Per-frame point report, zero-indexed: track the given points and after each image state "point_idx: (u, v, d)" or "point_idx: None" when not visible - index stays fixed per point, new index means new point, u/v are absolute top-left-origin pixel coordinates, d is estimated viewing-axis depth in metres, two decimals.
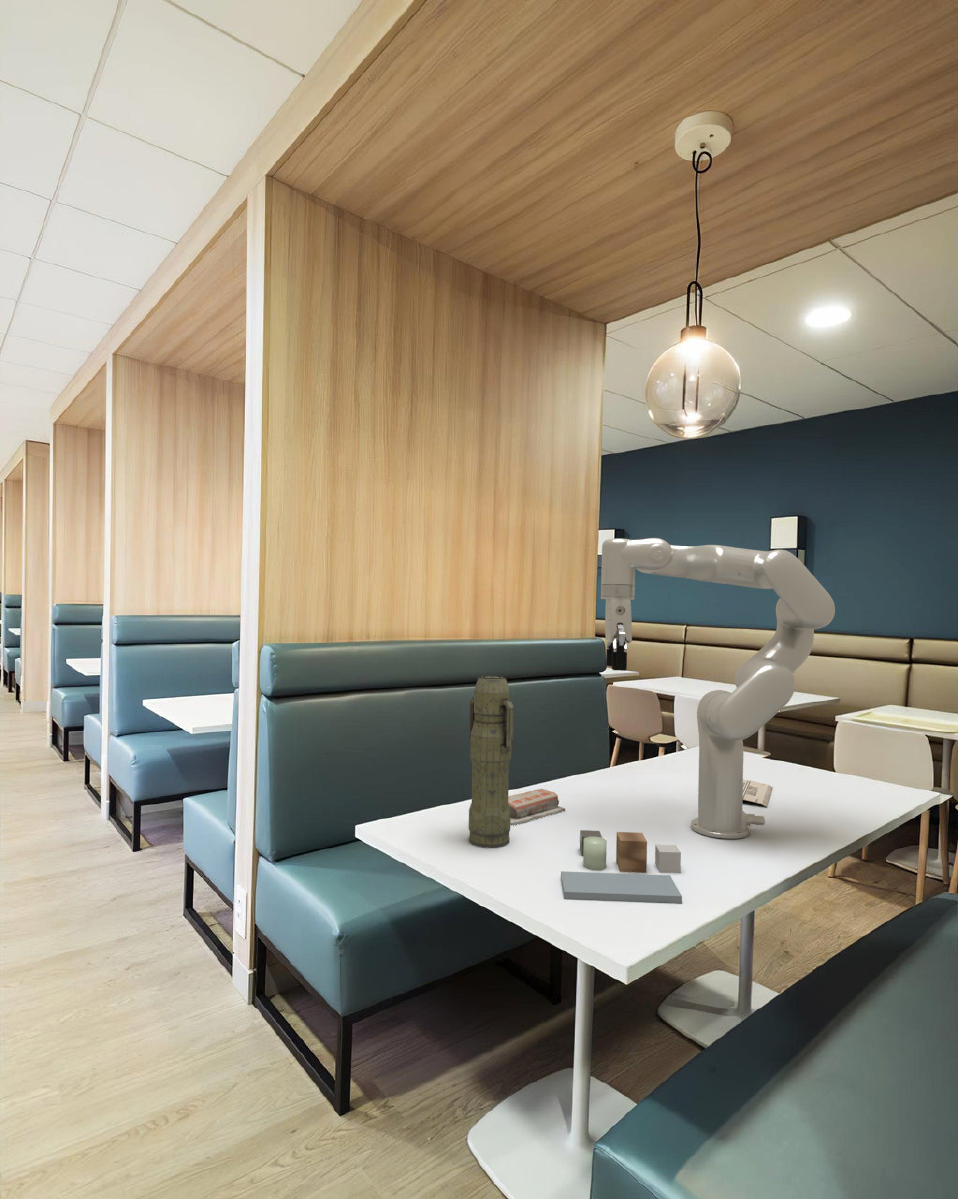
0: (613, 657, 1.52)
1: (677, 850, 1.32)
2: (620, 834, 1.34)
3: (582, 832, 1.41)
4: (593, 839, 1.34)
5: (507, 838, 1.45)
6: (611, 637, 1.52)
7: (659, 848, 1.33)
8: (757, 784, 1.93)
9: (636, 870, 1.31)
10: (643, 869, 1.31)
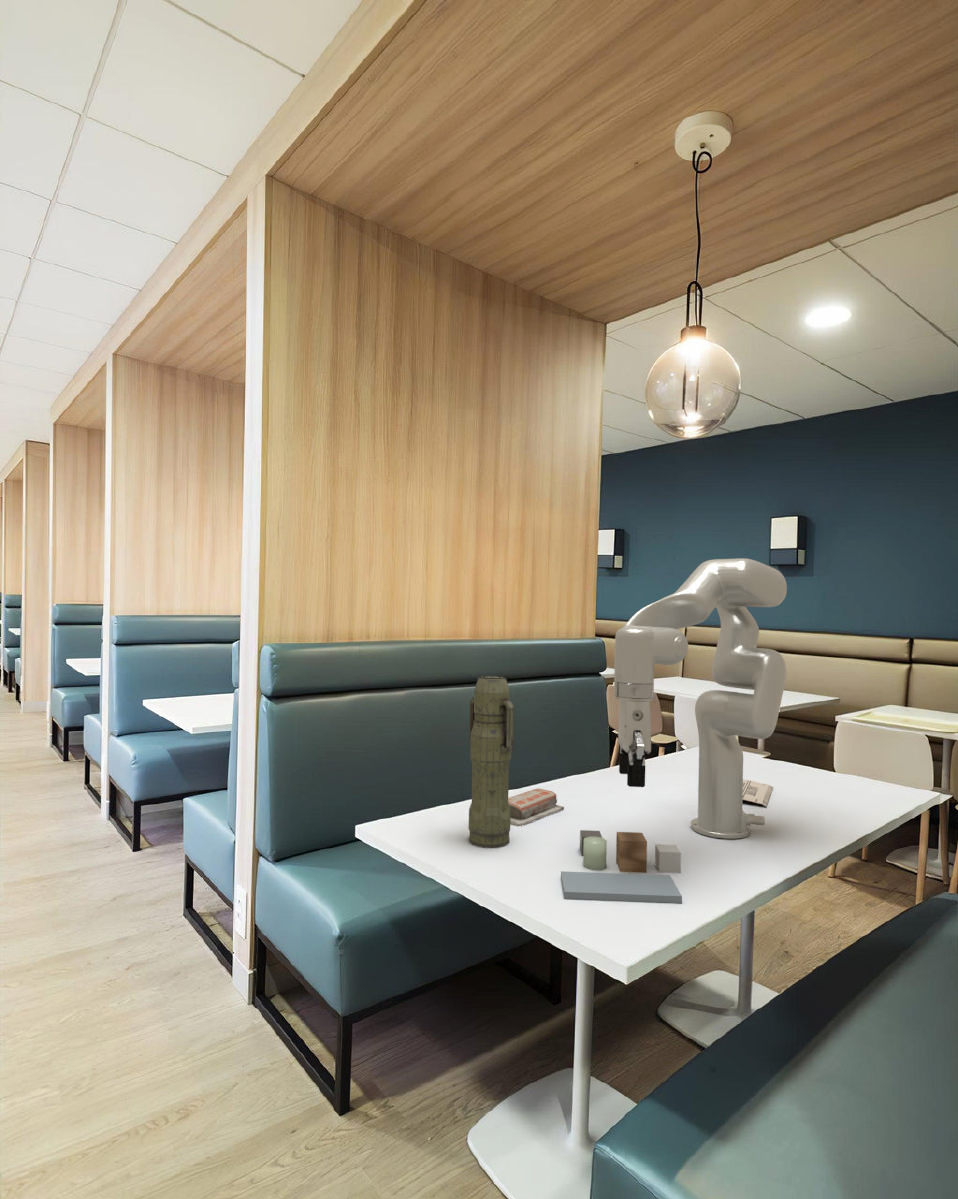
0: (629, 771, 1.28)
1: (677, 850, 1.32)
2: (620, 834, 1.34)
3: (582, 832, 1.41)
4: (593, 839, 1.34)
5: (507, 838, 1.45)
6: (627, 747, 1.29)
7: (659, 848, 1.33)
8: (757, 784, 1.93)
9: (636, 870, 1.31)
10: (643, 869, 1.31)
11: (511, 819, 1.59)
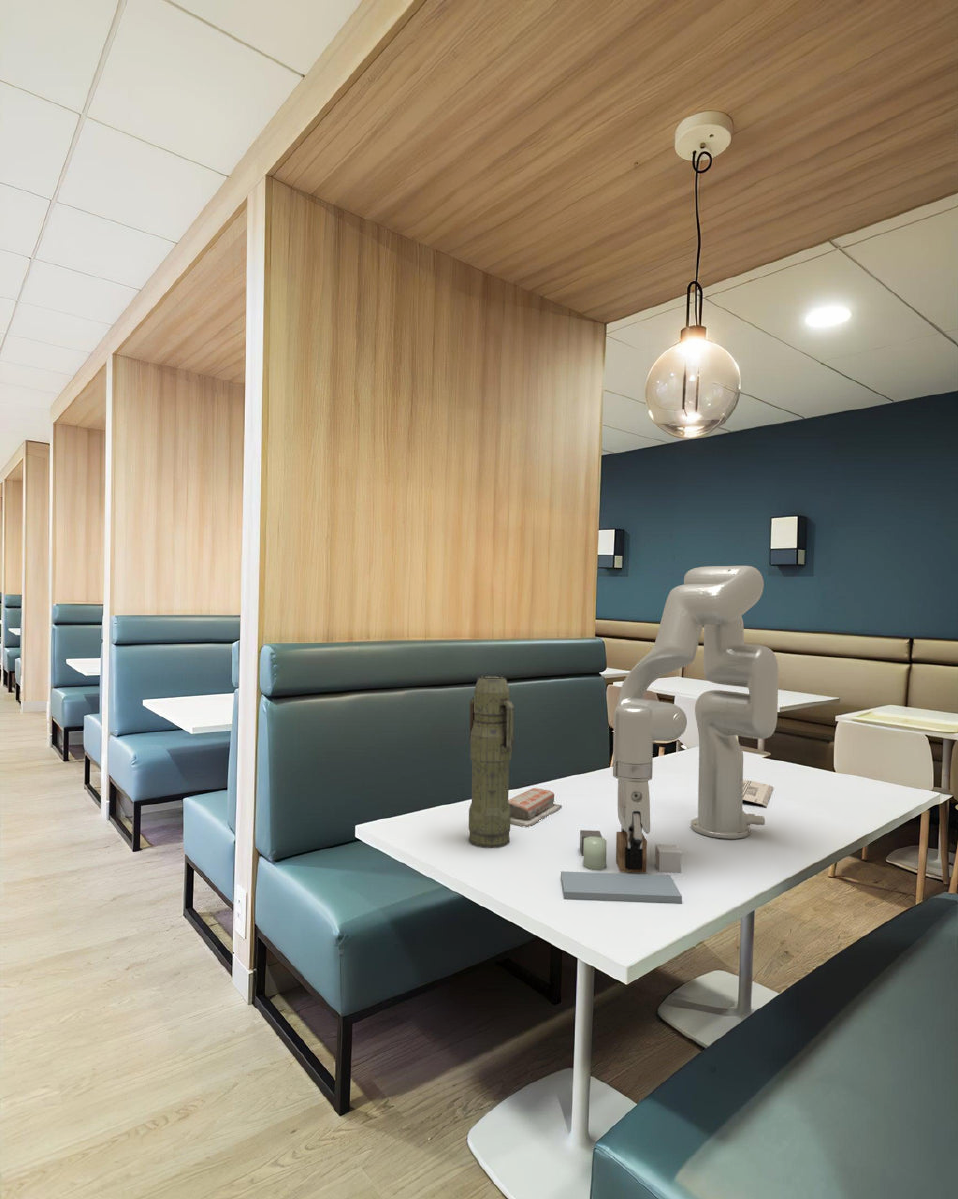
0: (627, 854, 1.30)
1: (677, 850, 1.32)
2: (620, 834, 1.34)
3: (582, 832, 1.41)
4: (593, 839, 1.34)
5: (507, 838, 1.45)
6: (626, 828, 1.29)
7: (659, 848, 1.33)
8: (758, 784, 1.93)
9: (636, 870, 1.31)
10: (643, 869, 1.31)
11: (517, 820, 1.58)
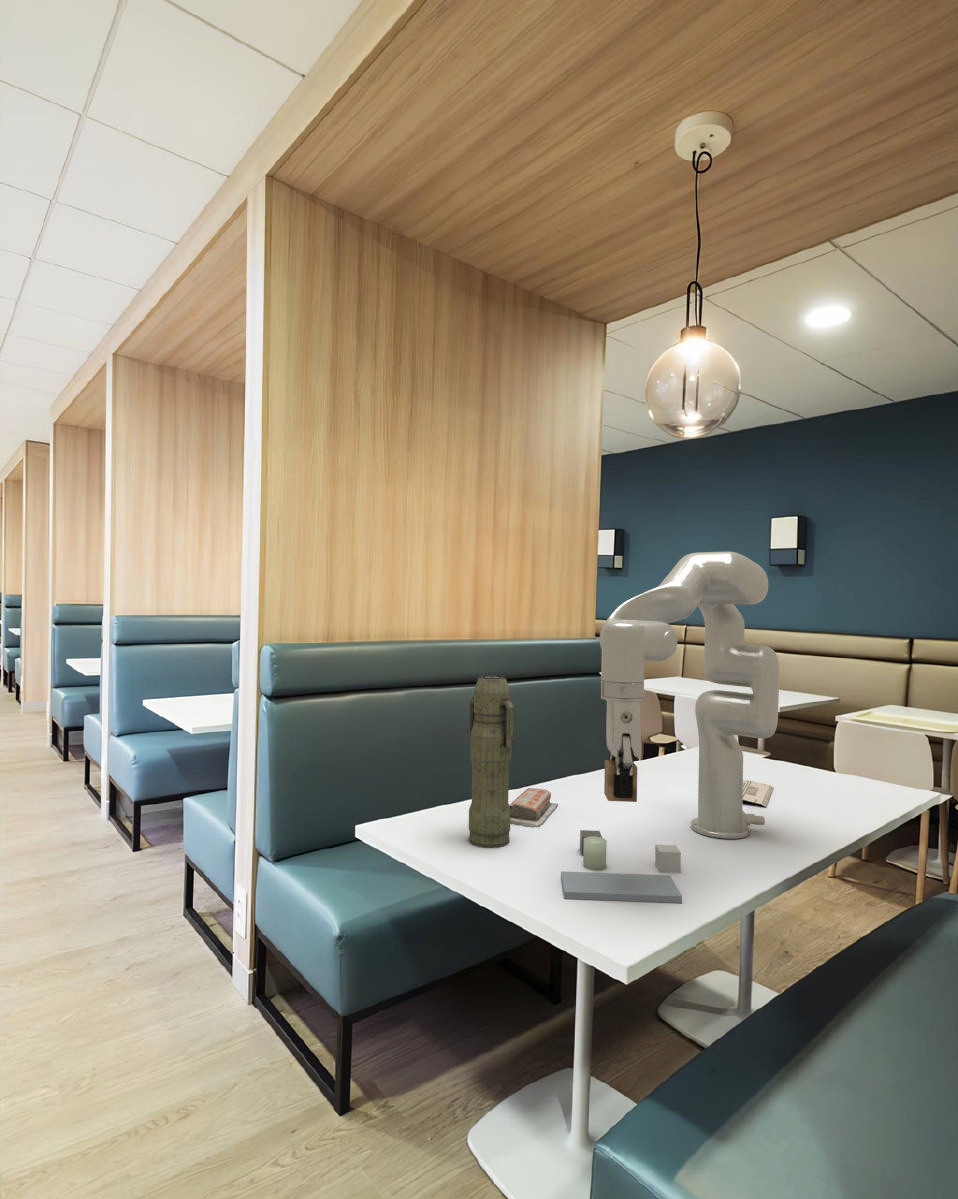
0: (615, 781, 1.20)
1: (677, 850, 1.32)
2: (608, 762, 1.24)
3: (582, 832, 1.41)
4: (593, 839, 1.34)
5: (507, 838, 1.45)
6: (615, 752, 1.18)
7: (659, 848, 1.33)
8: (758, 784, 1.93)
9: (625, 799, 1.20)
10: (633, 797, 1.20)
11: (526, 821, 1.58)
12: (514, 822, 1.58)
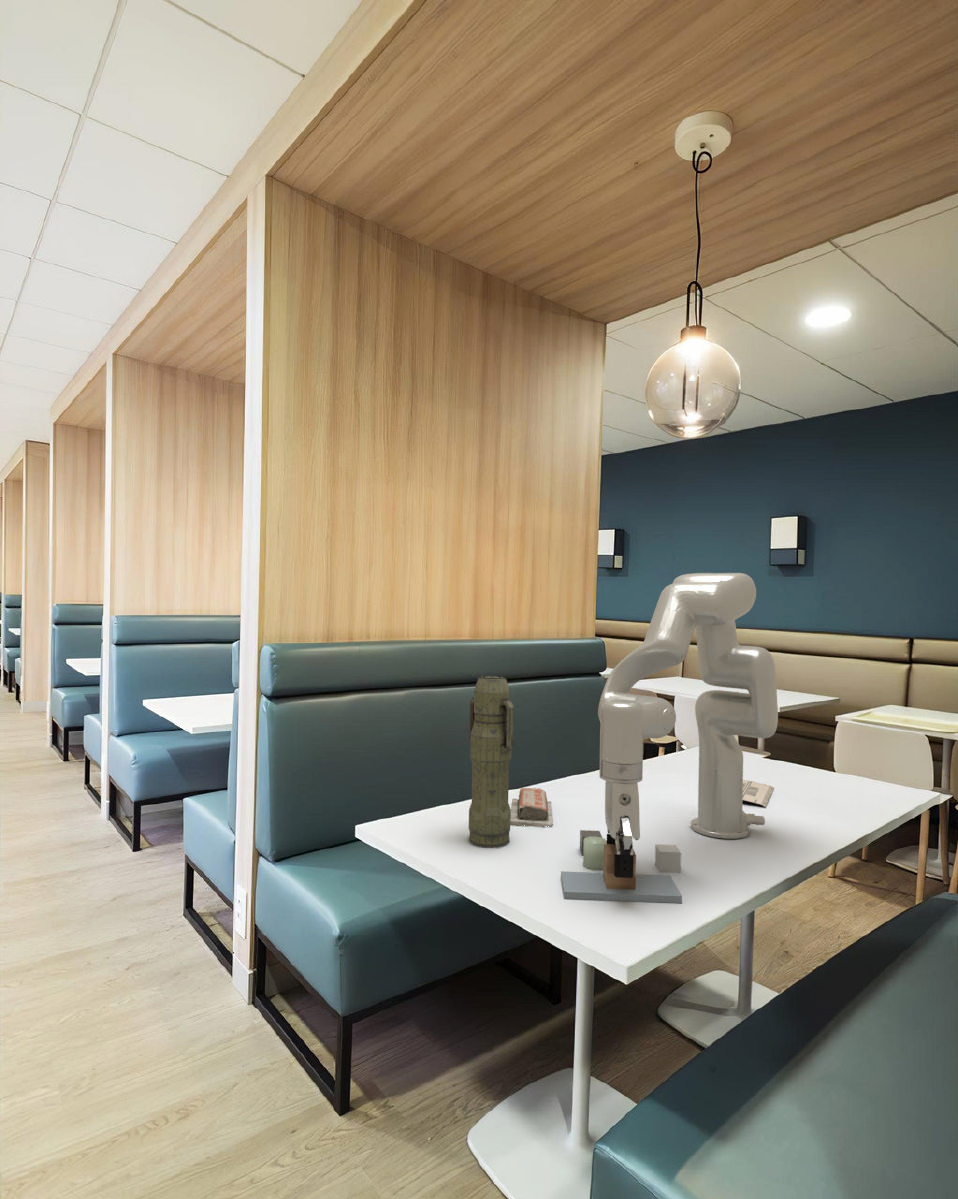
0: (616, 860, 1.18)
1: (677, 850, 1.32)
2: (607, 847, 1.24)
3: (582, 832, 1.41)
4: (593, 839, 1.34)
5: (507, 838, 1.45)
6: (613, 834, 1.18)
7: (659, 848, 1.33)
8: (758, 784, 1.93)
9: (624, 886, 1.20)
10: (632, 885, 1.20)
11: (537, 822, 1.58)
12: (527, 824, 1.57)
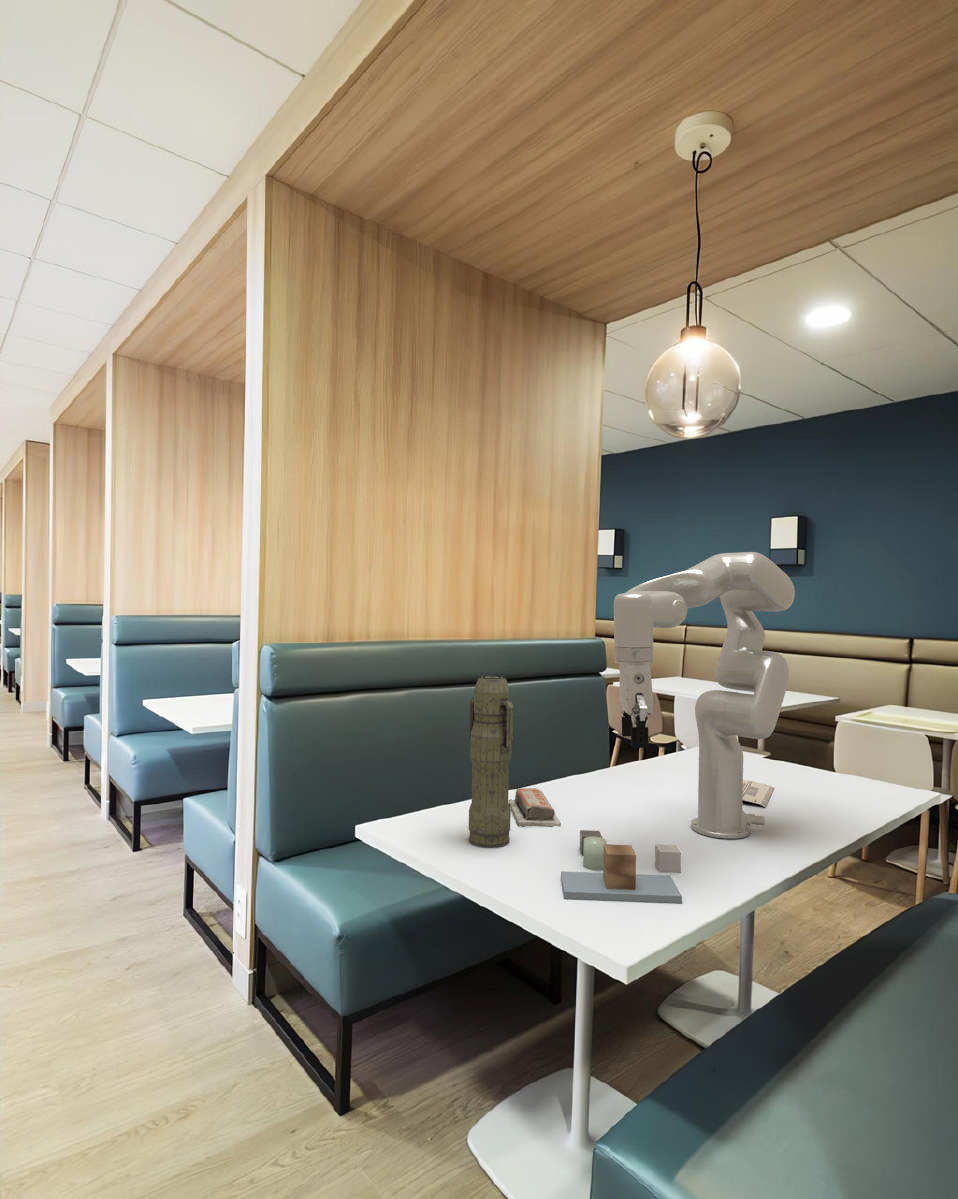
0: (632, 733, 1.31)
1: (677, 850, 1.32)
2: (607, 847, 1.24)
3: (582, 832, 1.41)
4: (593, 839, 1.34)
5: (507, 838, 1.45)
6: (629, 710, 1.31)
7: (659, 848, 1.33)
8: (758, 785, 1.92)
9: (624, 886, 1.20)
10: (632, 885, 1.20)
11: (545, 821, 1.58)
12: (535, 824, 1.56)
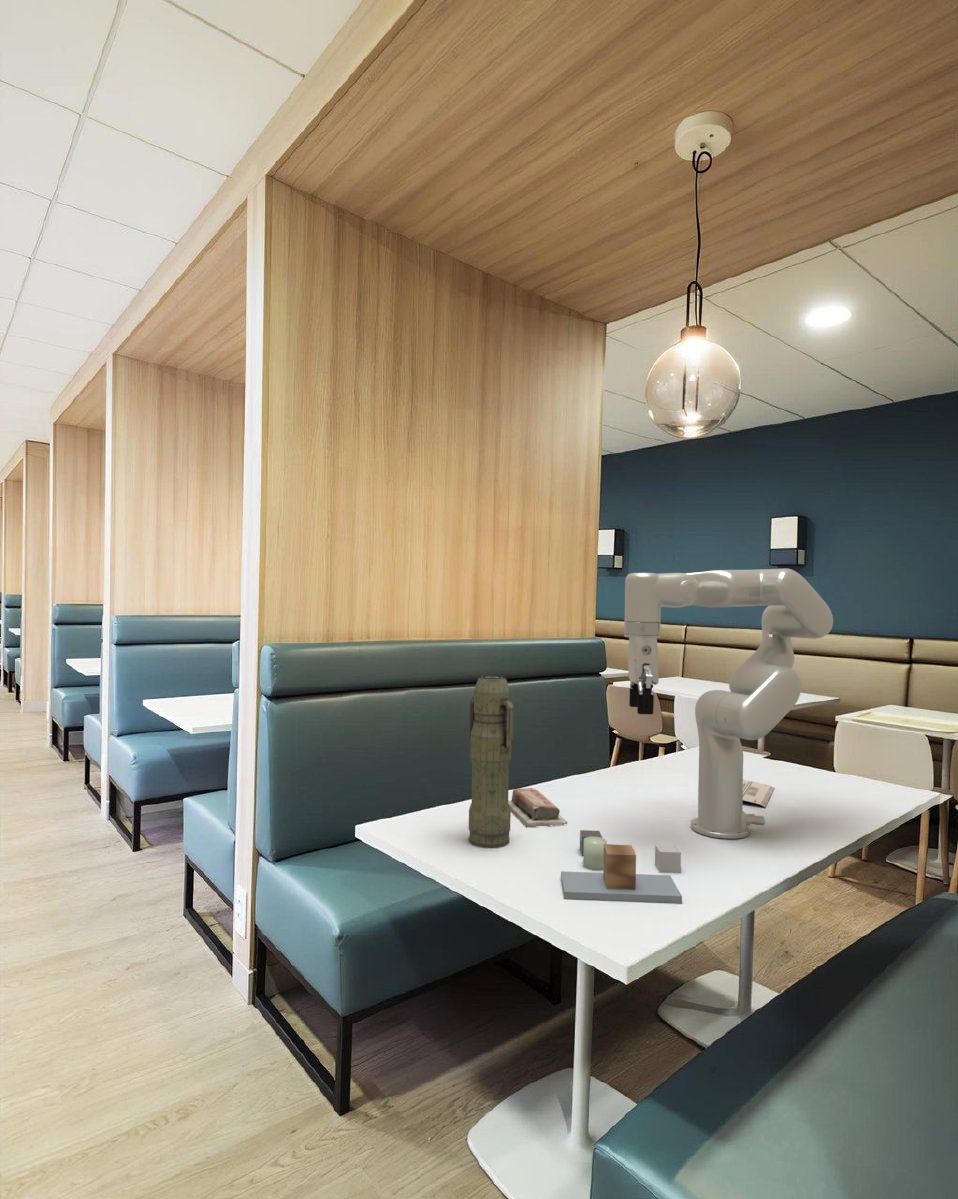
0: (639, 700, 1.42)
1: (677, 850, 1.32)
2: (607, 847, 1.24)
3: (582, 832, 1.41)
4: (593, 839, 1.34)
5: (507, 838, 1.45)
6: (636, 679, 1.43)
7: (659, 848, 1.33)
8: (759, 785, 1.92)
9: (624, 886, 1.20)
10: (632, 885, 1.20)
11: (551, 821, 1.58)
12: (543, 824, 1.57)
